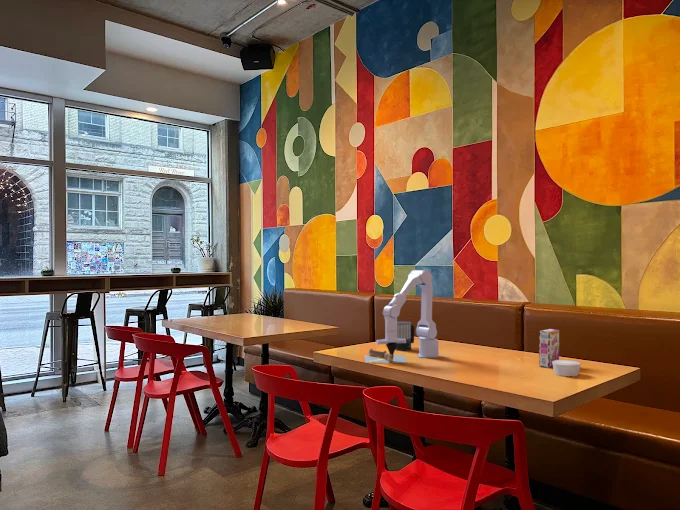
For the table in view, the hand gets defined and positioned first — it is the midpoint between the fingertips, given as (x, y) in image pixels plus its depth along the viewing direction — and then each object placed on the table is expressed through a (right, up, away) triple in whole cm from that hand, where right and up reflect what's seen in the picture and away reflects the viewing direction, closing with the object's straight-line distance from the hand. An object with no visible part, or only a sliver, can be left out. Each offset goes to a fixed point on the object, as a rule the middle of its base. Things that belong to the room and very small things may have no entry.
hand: (391, 358), depth 249 cm
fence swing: (-1, -1, +1) cm, 2 cm away
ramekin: (+72, -1, -29) cm, 77 cm away
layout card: (-3, -1, +6) cm, 7 cm away
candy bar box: (+72, -1, -11) cm, 73 cm away
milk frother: (+8, -2, +37) cm, 38 cm away
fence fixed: (-6, -1, +10) cm, 12 cm away
